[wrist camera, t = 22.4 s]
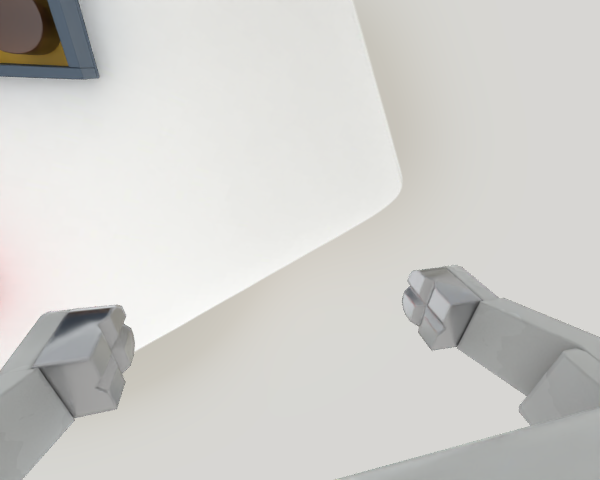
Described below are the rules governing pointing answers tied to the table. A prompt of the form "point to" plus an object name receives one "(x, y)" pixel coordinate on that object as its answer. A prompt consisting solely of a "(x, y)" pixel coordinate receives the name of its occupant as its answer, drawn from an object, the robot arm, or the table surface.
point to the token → (27, 27)
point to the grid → (57, 50)
